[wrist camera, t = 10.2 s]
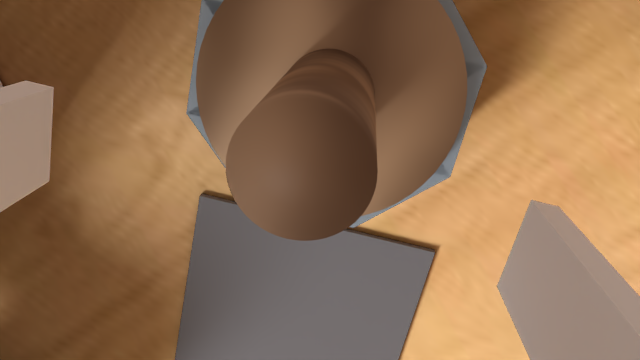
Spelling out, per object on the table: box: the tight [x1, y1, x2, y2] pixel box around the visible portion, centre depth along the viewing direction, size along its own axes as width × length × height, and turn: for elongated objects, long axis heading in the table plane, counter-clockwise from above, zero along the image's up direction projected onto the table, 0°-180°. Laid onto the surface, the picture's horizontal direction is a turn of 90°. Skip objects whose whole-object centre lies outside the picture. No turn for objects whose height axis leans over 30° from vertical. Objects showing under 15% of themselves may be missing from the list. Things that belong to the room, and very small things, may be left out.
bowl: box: [187, 0, 487, 228], centre depth 29 cm, size 14×14×6 cm
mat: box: [175, 194, 435, 360], centre depth 38 cm, size 16×16×1 cm
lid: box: [196, 0, 467, 241], centre depth 21 cm, size 13×13×12 cm
